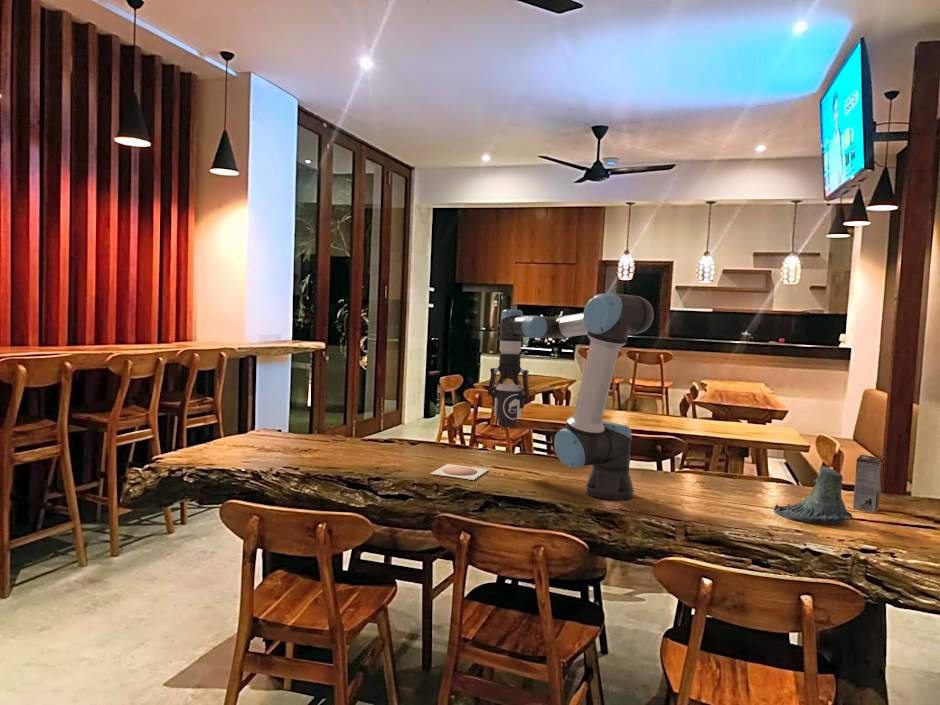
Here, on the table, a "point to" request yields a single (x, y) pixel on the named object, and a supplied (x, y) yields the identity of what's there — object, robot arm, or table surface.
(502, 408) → the coffee cup
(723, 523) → the table surface
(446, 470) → the coaster mat
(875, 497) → the coffee box
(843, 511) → the tree stump
